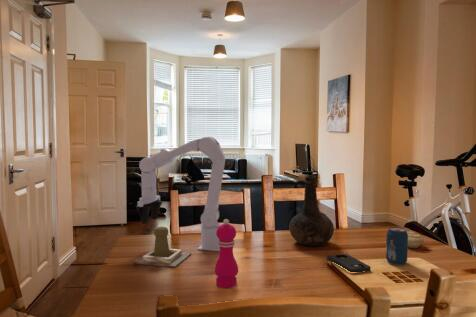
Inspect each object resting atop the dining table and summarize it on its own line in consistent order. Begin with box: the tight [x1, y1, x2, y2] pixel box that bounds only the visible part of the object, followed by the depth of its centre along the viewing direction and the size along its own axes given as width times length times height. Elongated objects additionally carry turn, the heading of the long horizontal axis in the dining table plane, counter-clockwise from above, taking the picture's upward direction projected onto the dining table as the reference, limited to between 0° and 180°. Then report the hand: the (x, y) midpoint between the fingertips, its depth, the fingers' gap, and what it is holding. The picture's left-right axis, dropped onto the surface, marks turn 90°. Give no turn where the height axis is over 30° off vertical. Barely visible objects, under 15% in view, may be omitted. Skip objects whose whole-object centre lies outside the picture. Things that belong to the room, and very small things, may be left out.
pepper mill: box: [214, 218, 239, 289], centre depth 113 cm, size 7×7×20 cm
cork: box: [153, 226, 170, 258], centre depth 136 cm, size 6×6×11 cm
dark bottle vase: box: [288, 175, 335, 247], centre depth 154 cm, size 18×18×28 cm
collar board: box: [133, 248, 192, 269], centre depth 136 cm, size 16×14×2 cm
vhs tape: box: [326, 253, 371, 273], centre depth 129 cm, size 14×8×2 cm, turn 17°
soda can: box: [385, 226, 409, 266], centre depth 131 cm, size 7×7×12 cm
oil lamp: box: [406, 230, 425, 249], centre depth 153 cm, size 11×14×5 cm
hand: (149, 221), depth 150 cm, fingers open, 7 cm apart
